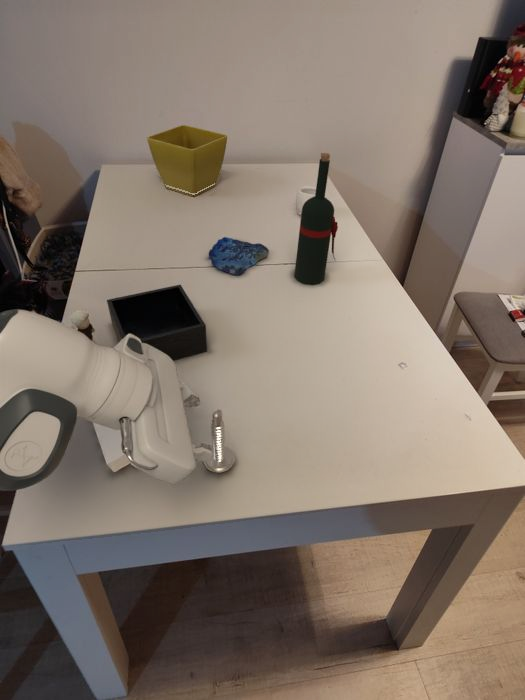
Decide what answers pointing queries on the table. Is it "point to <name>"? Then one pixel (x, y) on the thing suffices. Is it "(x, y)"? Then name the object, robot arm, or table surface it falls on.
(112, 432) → the bracket
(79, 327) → the grandmother figurine
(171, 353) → the open box
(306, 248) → the wine bottle
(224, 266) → the rock
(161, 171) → the flower pot
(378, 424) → the table surface
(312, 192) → the mug
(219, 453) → the screw
